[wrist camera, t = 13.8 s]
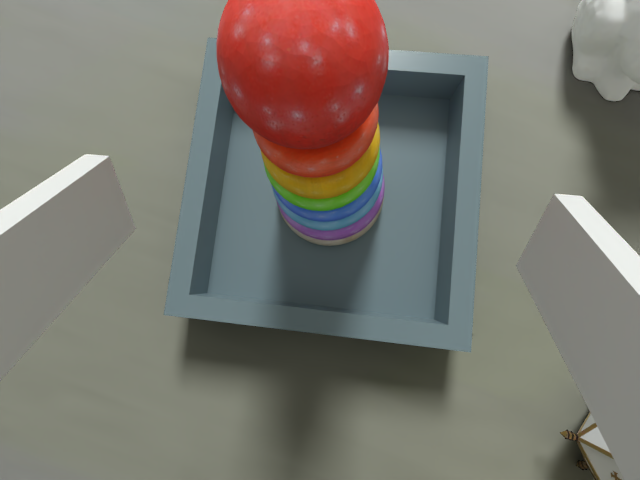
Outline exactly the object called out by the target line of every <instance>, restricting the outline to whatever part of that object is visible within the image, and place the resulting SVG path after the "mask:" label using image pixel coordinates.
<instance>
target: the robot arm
mask: <svg viewBox="0 0 640 480" xmlns="http://www.w3.org/2000/svg"><path fill="white" fill-rule="evenodd" d="M135 229H136V228H135V225H134V222H133V220H132V217H131V214H130V211H129V209H128V206H127V203H126V200H125V198H124V195H123V192H122V189H121V187H120V184H119V181H118V178H117V176H116V173H115V170H114V167H113V165H112V162H111V159H110V156H102V155H90V154H85V155H83V156H82V157H80V158H79V159H77V160H76V161H74V162H73V163H71V164H70V165H68V166H67V167H65V168H63V169H62V170H60V171H59V172H57V173H56V174H54V175H53V176H51V177H50V178H48V179H47V180H45V181H44V182H42V183H41V184H39V185H38V186H36V187H34V188H33V189H31V190H30V191H28V192H27V193H25V194H24V195H22V196H21V197H19V198H18V199H16V200H15V201H13V202H12V203H10V204H9V205H7V206H5V207H4V208H2V209H1V210H0V381H1V380H2V378H3V377H4V376H5V375H6V374H7V373H8V372H9V371H10V370H11V368H12V367H13V366H14V365H15V364H16V363H17V362H18V361H19V359H20V358H21V357H22V356H23V355H24V354H25V353H26V352H27V350H28V349H29V348H30V347H31V346H32V345H33V344H34V343H35V341H36V340H37V339H38V338H39V337H40V336H41V335H42V334H43V332H44V331H45V330H46V329H47V328H48V327H49V326H50V325H51V323H52V322H53V321H54V320H55V319H56V318H57V317H58V316H59V315H60V313H61V312H62V311H63V310H64V309H65V308H66V307H67V306H68V304H69V303H70V302H71V301H72V300H73V299H74V298H75V297H76V295H77V294H78V293H79V292H80V291H81V290H82V289H83V288H84V286H85V285H86V284H87V283H88V282H89V281H90V280H91V279H92V277H93V276H94V275H95V274H96V273H97V272H98V271H99V270H100V269H101V267H102V266H103V265H104V264H105V263H106V262H107V261H108V260H109V258H110V257H111V256H112V255H113V254H114V253H115V252H116V251H117V249H118V248H119V247H120V246H121V245H122V244H123V243H124V242H125V240H126V239H127V238H128V237H129V236H130V235H131V234H132V233H133V231H134V230H135ZM516 267H517V269H518V271H519V273H520V275H521V277H522V279H523V281H524V283H525V285H526V286H527V288H528V290H529V292H530V294H531V296H532V298H533V300H534V302H535V304H536V306H537V308H538V310H539V312H540V314H541V316H542V318H543V320H544V322H545V324H546V326H547V328H548V330H549V332H550V334H551V336H552V338H553V340H554V342H555V344H556V346H557V348H558V350H559V352H560V354H561V356H562V358H563V360H564V361H565V363H566V365H567V367H568V369H569V371H570V373H571V375H572V377H573V379H574V381H575V383H576V385H577V387H578V389H579V391H580V393H581V395H582V397H583V399H584V401H585V403H586V405H587V407H588V409H589V411H590V413H591V415H592V417H593V419H594V421H595V423H596V425H597V427H598V429H599V431H600V433H601V435H602V436H603V438H604V440H605V442H606V444H607V446H608V448H609V450H610V452H611V454H612V456H613V458H614V460H615V462H616V464H617V466H618V468H619V470H620V472H621V474H622V476H623V478H624V480H640V256H639V255H638V254H637V253H636V252H635V251H634V250H633V249H632V248H631V247H630V246H629V244H628V243H627V242H626V241H625V240H624V239H623V238H622V237H621V236H620V235H619V234H618V233H617V232H616V231H615V230H614V229H613V228H612V227H611V226H610V225H609V224H608V222H607V221H606V220H605V219H604V218H603V217H602V216H601V215H600V214H599V213H598V212H597V211H596V210H595V209H594V208H593V207H592V206H591V205H590V204H589V203H588V202H587V201H586V199H585V198H584V197H583V196H575V195H563V194H554V195H553V197H552V199H551V201H550V202H549V204H548V206H547V208H546V210H545V212H544V214H543V216H542V217H541V219H540V221H539V223H538V225H537V227H536V229H535V231H534V233H533V234H532V236H531V238H530V240H529V242H528V244H527V246H526V248H525V250H524V251H523V253H522V255H521V257H520V259H519V261H518V263H517V265H516Z"/></svg>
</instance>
